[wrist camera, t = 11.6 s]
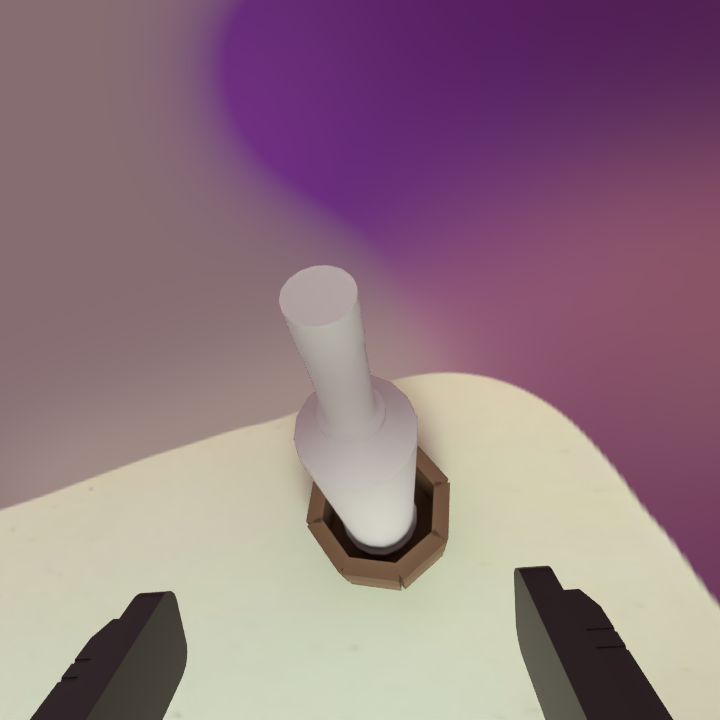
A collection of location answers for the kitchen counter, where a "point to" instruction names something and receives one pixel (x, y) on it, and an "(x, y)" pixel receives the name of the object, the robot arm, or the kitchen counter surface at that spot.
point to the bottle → (351, 415)
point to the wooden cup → (399, 565)
